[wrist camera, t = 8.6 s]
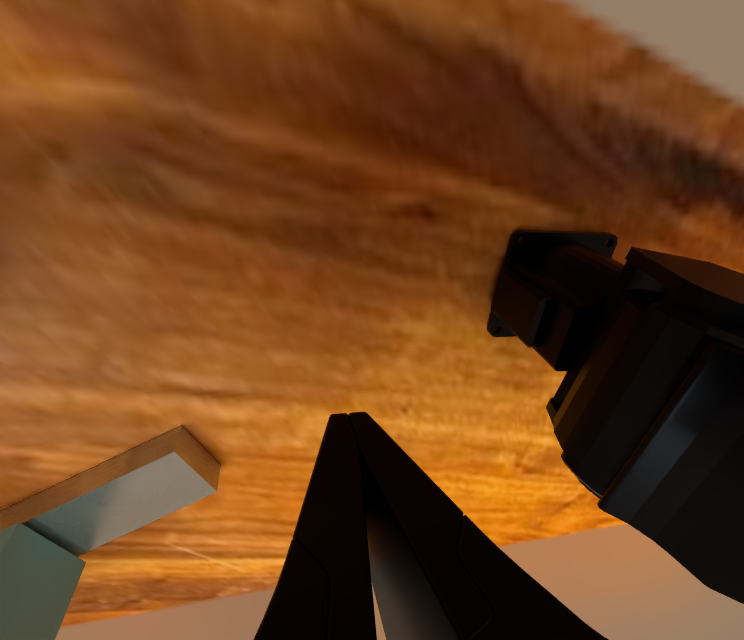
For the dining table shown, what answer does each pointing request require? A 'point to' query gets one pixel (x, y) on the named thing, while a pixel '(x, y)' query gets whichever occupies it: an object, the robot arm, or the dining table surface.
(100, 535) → the rail
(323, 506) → the robot arm
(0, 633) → the tall teal pillar
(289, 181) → the dining table surface
